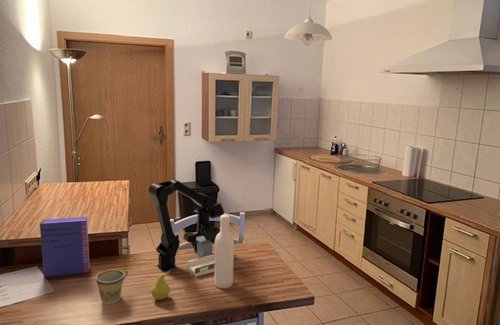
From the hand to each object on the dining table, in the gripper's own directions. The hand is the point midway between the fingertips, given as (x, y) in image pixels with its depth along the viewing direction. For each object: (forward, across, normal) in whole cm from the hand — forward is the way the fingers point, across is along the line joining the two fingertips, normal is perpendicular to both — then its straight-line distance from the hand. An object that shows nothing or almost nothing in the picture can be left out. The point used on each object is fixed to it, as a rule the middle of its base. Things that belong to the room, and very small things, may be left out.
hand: (203, 250), depth 183 cm
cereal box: (+3, -58, +16) cm, 60 cm away
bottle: (+3, -6, -28) cm, 29 cm away
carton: (+3, 0, 0) cm, 3 cm away
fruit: (+3, -32, -25) cm, 41 cm away
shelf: (+2, -3, -12) cm, 13 cm away
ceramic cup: (+3, -47, -15) cm, 49 cm away
